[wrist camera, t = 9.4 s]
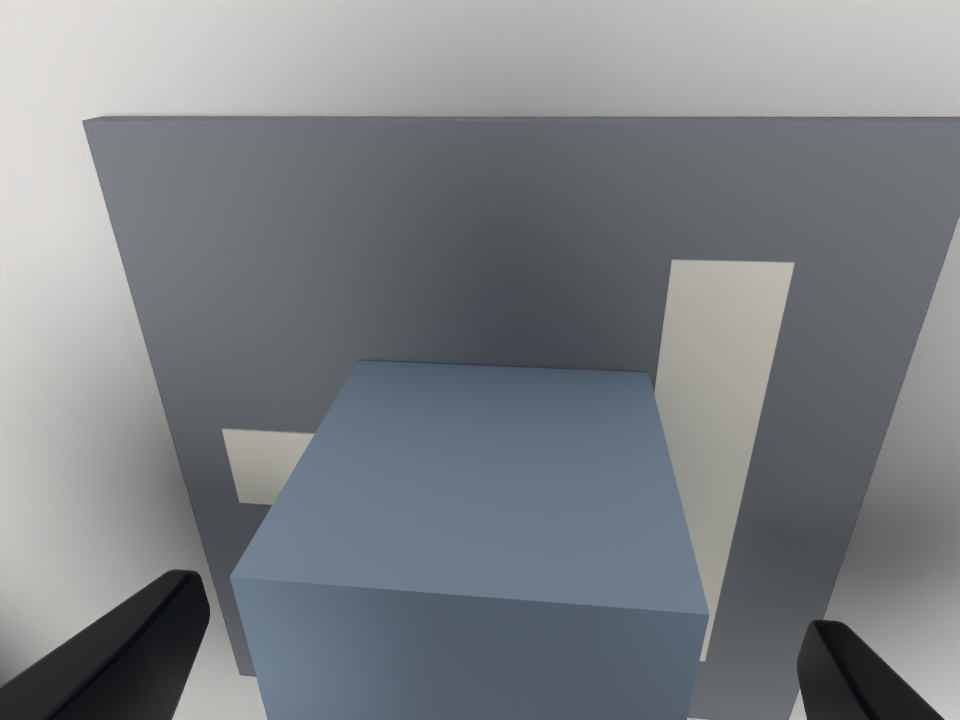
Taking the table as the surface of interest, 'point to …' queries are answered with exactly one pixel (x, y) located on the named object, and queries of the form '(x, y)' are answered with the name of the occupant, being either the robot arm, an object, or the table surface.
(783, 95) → the table surface
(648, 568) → the blue cube
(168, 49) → the table surface
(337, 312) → the letter card
